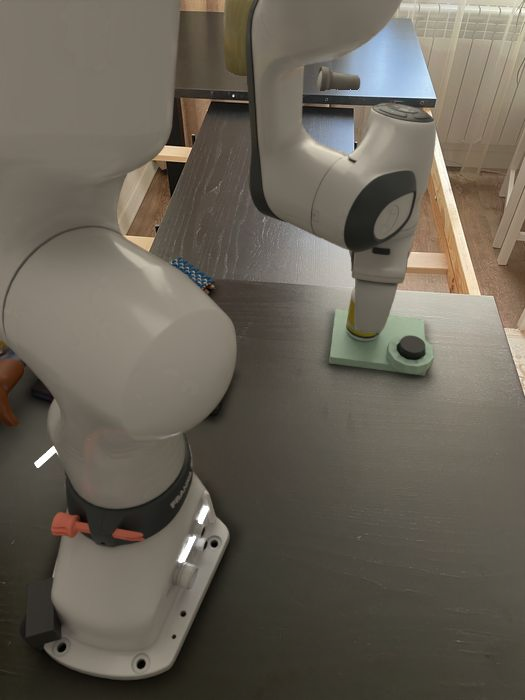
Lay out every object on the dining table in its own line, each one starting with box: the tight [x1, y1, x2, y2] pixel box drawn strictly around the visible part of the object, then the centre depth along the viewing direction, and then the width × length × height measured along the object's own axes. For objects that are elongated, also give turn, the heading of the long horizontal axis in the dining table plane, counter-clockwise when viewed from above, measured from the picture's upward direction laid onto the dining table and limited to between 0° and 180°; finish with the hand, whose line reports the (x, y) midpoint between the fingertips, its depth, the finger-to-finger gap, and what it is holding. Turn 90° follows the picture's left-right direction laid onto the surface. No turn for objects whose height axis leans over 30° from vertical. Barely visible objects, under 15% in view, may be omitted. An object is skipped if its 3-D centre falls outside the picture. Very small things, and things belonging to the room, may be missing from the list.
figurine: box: [0, 340, 27, 428], centre depth 77 cm, size 20×10×30 cm
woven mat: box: [168, 256, 215, 295], centre depth 91 cm, size 10×11×2 cm
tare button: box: [398, 336, 425, 360], centre depth 77 cm, size 4×4×2 cm
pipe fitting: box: [316, 66, 361, 91], centre depth 153 cm, size 12×8×10 cm
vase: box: [222, 0, 253, 76], centre depth 156 cm, size 17×17×27 cm
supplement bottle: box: [346, 286, 380, 341], centre depth 79 cm, size 5×5×10 cm
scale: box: [328, 308, 435, 377], centre depth 81 cm, size 12×15×3 cm
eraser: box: [30, 377, 54, 402], centre depth 74 cm, size 11×4×2 cm, turn 71°
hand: (365, 312), depth 80 cm, fingers closed on supplement bottle, 5 cm apart
